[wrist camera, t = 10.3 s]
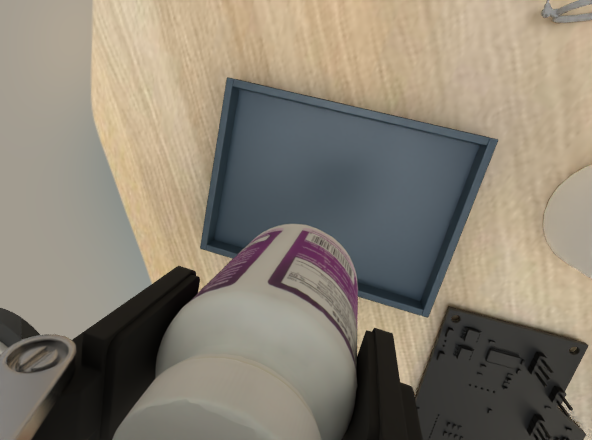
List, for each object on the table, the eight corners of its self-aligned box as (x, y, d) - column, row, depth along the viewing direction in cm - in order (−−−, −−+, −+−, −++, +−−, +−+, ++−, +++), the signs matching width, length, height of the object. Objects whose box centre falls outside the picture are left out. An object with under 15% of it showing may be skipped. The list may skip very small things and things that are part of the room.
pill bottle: (252, 331, 16) (110, 583, 7) (233, 226, 15) (33, 366, 6) (364, 329, 15) (367, 629, 6) (353, 215, 14) (334, 369, 5)
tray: (209, 241, 33) (199, 248, 31) (236, 81, 29) (226, 77, 27) (423, 306, 30) (428, 318, 28) (488, 139, 26) (498, 139, 24)
